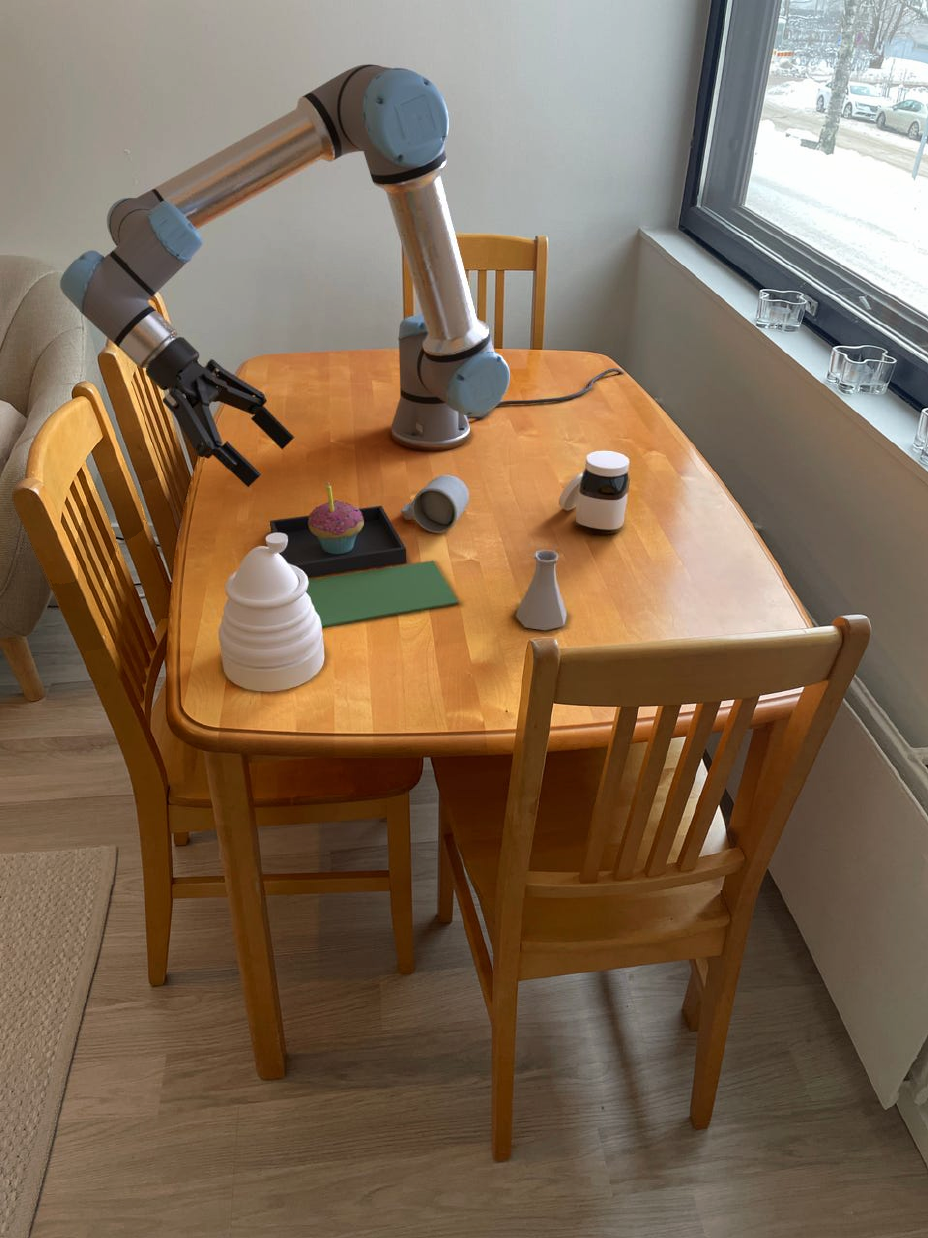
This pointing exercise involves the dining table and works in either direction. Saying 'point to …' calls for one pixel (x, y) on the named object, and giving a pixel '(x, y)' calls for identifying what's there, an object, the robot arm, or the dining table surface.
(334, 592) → the green cloth
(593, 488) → the spread jar
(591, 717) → the dining table surface
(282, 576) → the honey pot
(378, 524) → the baking pan
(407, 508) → the ceramic mug
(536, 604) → the flask
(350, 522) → the cupcake
